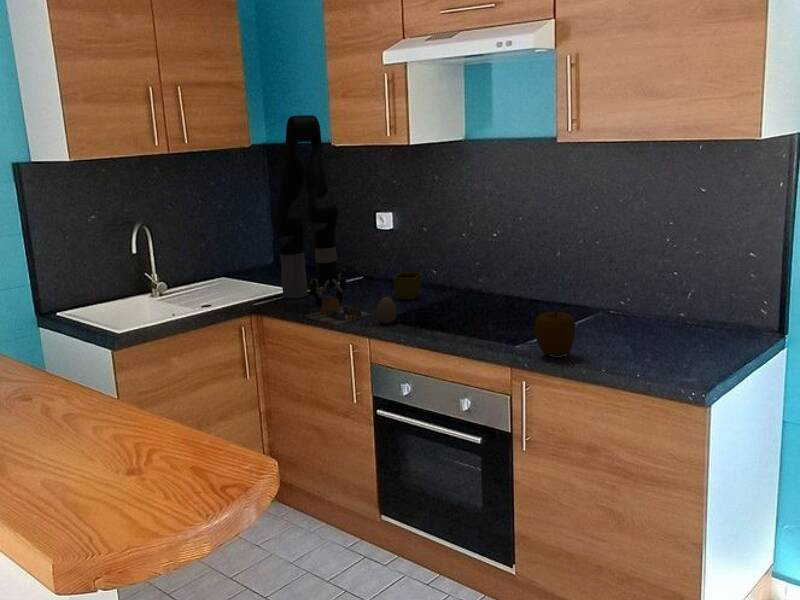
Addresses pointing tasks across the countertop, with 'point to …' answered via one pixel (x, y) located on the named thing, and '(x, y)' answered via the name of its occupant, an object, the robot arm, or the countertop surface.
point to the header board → (339, 315)
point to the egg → (386, 310)
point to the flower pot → (407, 285)
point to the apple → (555, 333)
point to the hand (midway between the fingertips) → (329, 304)
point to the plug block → (329, 304)
